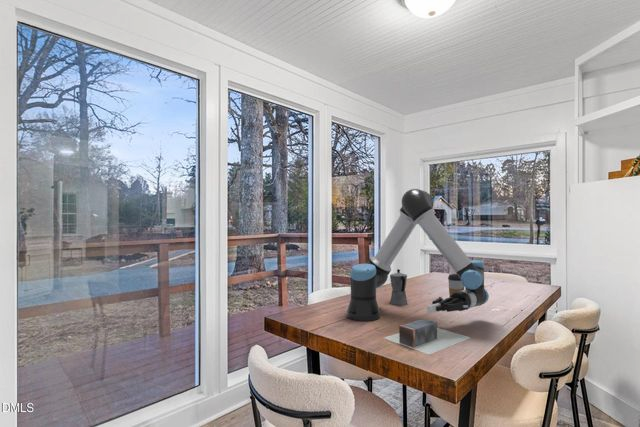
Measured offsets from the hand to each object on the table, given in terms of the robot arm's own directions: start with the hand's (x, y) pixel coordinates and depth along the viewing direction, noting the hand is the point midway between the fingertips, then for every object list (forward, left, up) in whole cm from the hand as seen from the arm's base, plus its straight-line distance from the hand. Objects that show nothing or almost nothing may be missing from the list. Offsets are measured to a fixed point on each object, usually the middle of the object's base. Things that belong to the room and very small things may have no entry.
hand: (428, 309), depth 128 cm
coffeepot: (-3, +53, -11) cm, 55 cm away
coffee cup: (+27, +55, -11) cm, 63 cm away
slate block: (+1, +1, -7) cm, 8 cm away
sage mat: (-1, 0, -11) cm, 11 cm away
